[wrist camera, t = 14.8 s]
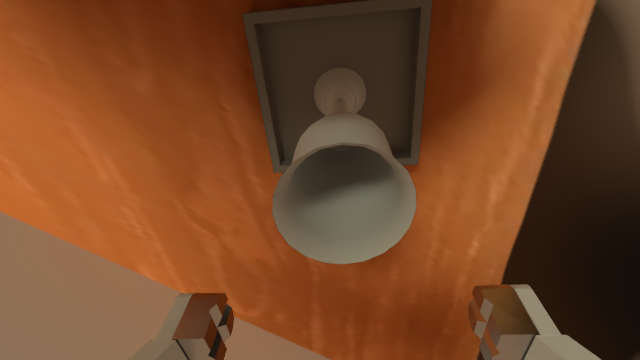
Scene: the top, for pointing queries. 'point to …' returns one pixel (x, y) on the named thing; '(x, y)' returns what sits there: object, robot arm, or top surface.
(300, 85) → the tray
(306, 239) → the chalice
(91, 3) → the top surface
